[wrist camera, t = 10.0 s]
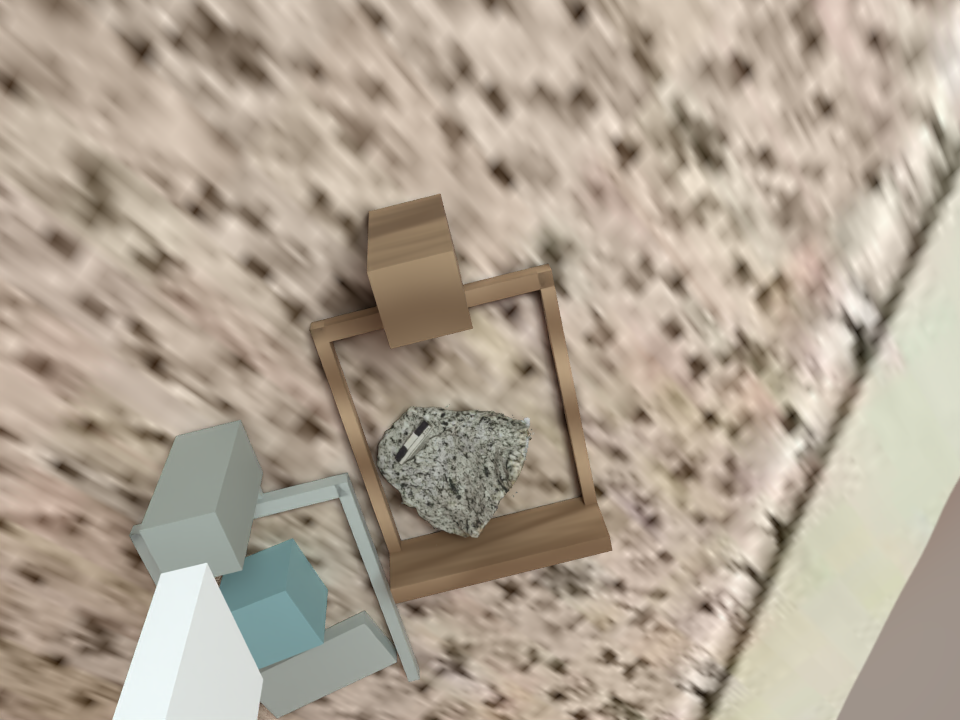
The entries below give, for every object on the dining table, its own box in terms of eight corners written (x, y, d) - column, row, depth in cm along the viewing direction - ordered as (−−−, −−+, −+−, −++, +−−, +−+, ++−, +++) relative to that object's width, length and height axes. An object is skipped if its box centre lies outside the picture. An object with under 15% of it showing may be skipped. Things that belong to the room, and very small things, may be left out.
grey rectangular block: (243, 668, 61) (241, 682, 60) (364, 610, 59) (364, 623, 58) (278, 704, 63) (276, 718, 62) (396, 649, 61) (397, 662, 60)
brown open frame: (279, 234, 46) (259, 299, 38) (530, 171, 46) (561, 223, 38) (394, 557, 57) (396, 660, 49) (596, 507, 57) (631, 602, 49)
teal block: (224, 564, 56) (211, 619, 52) (292, 537, 56) (285, 590, 52) (262, 615, 59) (252, 671, 54) (327, 589, 58) (323, 644, 54)
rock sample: (376, 392, 47) (475, 514, 45) (473, 342, 52) (568, 450, 49) (337, 481, 55) (420, 589, 52) (425, 430, 60) (505, 528, 57)
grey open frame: (96, 456, 51) (43, 554, 43) (321, 400, 51) (310, 488, 43) (233, 713, 62) (212, 829, 54) (419, 668, 62) (424, 778, 54)
